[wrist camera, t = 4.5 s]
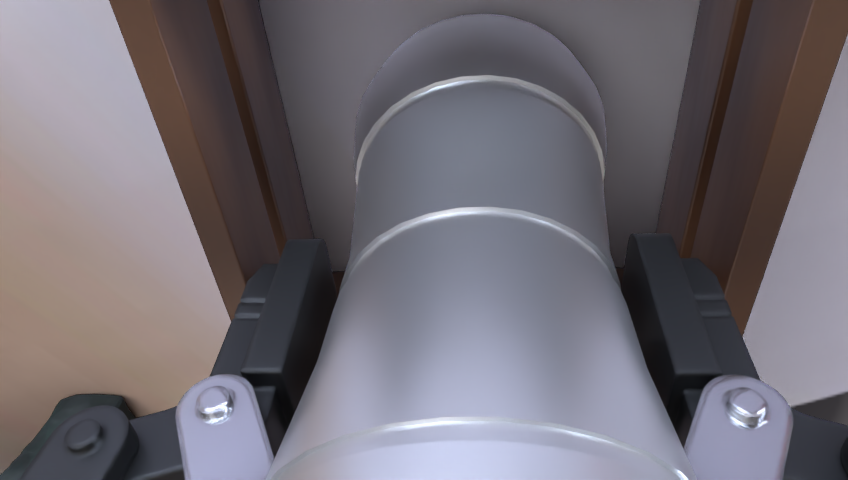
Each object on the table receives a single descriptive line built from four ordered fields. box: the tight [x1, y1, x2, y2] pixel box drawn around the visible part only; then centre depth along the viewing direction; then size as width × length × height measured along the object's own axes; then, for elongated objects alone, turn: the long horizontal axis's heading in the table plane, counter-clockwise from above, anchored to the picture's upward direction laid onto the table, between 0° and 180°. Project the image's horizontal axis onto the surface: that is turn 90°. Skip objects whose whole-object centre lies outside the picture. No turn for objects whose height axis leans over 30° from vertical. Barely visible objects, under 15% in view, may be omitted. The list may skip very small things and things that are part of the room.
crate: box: [109, 0, 848, 336], centre depth 17 cm, size 16×14×6 cm
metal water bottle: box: [265, 14, 697, 480], centre depth 12 cm, size 6×7×20 cm
